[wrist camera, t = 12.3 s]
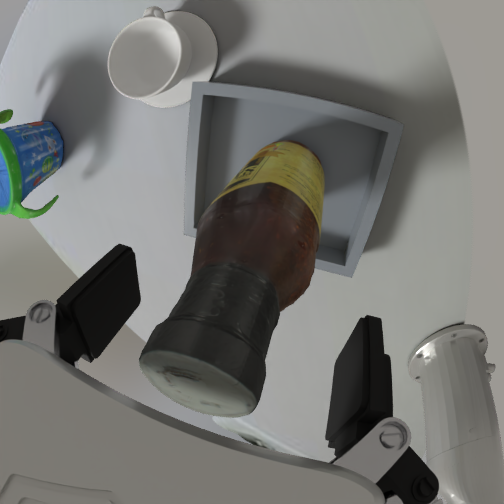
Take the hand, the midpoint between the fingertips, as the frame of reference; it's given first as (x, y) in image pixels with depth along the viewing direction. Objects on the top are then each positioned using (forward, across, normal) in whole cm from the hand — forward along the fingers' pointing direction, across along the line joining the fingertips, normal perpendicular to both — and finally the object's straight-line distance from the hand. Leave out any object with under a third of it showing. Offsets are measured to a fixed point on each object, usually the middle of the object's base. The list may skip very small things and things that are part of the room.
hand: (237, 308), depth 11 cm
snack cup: (+16, +32, 0) cm, 36 cm away
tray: (+17, +1, -1) cm, 17 cm away
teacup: (+17, +13, -10) cm, 24 cm away
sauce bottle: (+16, +1, -1) cm, 16 cm away
